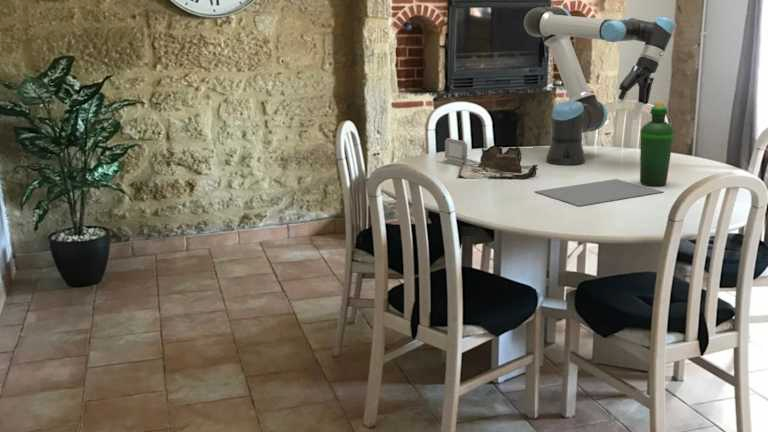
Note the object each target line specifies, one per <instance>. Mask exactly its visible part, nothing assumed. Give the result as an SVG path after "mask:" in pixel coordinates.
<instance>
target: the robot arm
mask: <svg viewBox="0 0 768 432" xmlns="http://www.w3.org/2000/svg"><path fill="white" fill-rule="evenodd" d="M523 27H524V29H525V30H526V33H527V34H528V35H530V36H532V37H536V38H540V37H541V38H542V41H543V43H544V46H547V47H549V48H550V51H551V54H552V57H553V59H554V62H555V64H556V68H557V70H558V73H559V75H560V78H561V81H562V84H563V86H564V89H565V92H566V94H567V97H568V100H569V101H563V102H558V103H556V104H555V105H553V109H552V115H551V117H552V121H551V122H552V123H551V141H550V142H551V143H550V145H549V148H548V152H547V154H546V158H545V159H546V161H545V162H547V163H549V164H551V165H552V164H553V165H559V166H576V165H582V164H585V163H586V155H585V154H584V148H583V143H582V140H583V139H582V138H583V134H584V133H589V132H594V131H597V130H599V129H601V128H602V127H603V126H604V125H605V124H606V122H607V118H608V110H607V107H606V106H605V104H604V103H603V102H600V101H598V99H597V97H596V96H597V95H596V94H595V93H593V92H591V91H590V89H589V85H588V83H587V81H586V77H585V75H584V73H583V72H584V71H582V67H581V65H580V62H579V59H578V57H577V55H576V51H575V49H574V46H573V43H572V41H571V37H573V38H574V37H575V38H582V39H593V40H601V41H602V40H603V41H606V42H608V43H609V42H610V43H617V42H624V41H625V42H627V41H628V42H630V41H631V42H632V41H636V42H640V43H641V42H643V43H644V46H643V48H642V50H641V52H640V54H639V57H638V59H637V62H636V63H635V65H633V66H632V68H631V70H630V71H629V72H628V74H626V76H625V77H624V79H623V80H622V81H621V83H619V88H618V89H619V90H620V93H619V95H618V98H617V100H616V103H615V104H614V106H613V107H614V108H615V109H618V110H622V109H623V108H624V105H625V102H626V100H627V98H628V95H629V91H630V90H631V89H632V88H634V86H636V85H637V87H638V97H637V98H638V101H636V103H635V105H634V106H633V108H632V111H631V114H630V115H629V118H630V119H633V120H638V118H639V116H640V114H641V111H642V109H643V106H644V105H648V103H649V100H650V95H651V90H652V85H653V83H654V79H655V78H654V77H651V75H652V74H656V72H657V70H658V67H659V65H660V64H659V63H661V60H662V59H663V56H664V55H665V54H664V53H665V51H666V49H667V46H668V44H669V42H670V40H671V38H672V36H673V34H674V32H675V31H674V30H675V28H676V23H675V21H674V20H672V19H670V18H667V17H664V16H658V17H656V18H655V20H654V21H647V20H641V19H638V18H635V17H625V18H624V19H620V20H619V19H609V18H608V19H607V18H598V17H597V18H596V17H586V16H585V17H583V16H573V15H572V14H571V13H570V12H569V11H568V10H567V9H566V8H563V7H561V6H550V7H549V6H547V7H545V6H544V7H542V6H541V7H540V6H538V7H534V8H531V9H530V10H529V11H528V12H527V13H526V15H525V17H524V19H523Z"/></svg>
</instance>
